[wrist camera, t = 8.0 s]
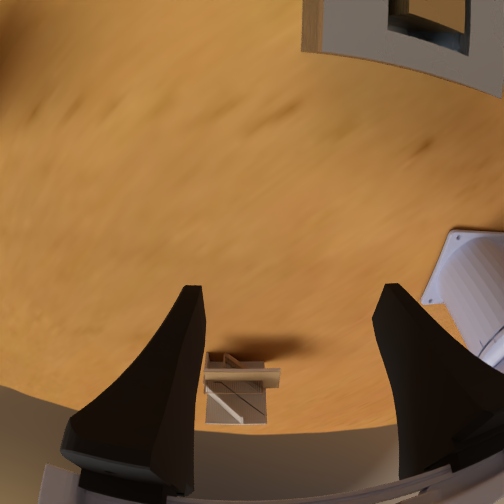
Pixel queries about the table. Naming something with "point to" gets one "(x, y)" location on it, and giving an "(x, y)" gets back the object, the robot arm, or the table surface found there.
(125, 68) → the table surface
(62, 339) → the table surface
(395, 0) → the tan wooden block
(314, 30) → the grey square frame
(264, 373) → the architectural model
